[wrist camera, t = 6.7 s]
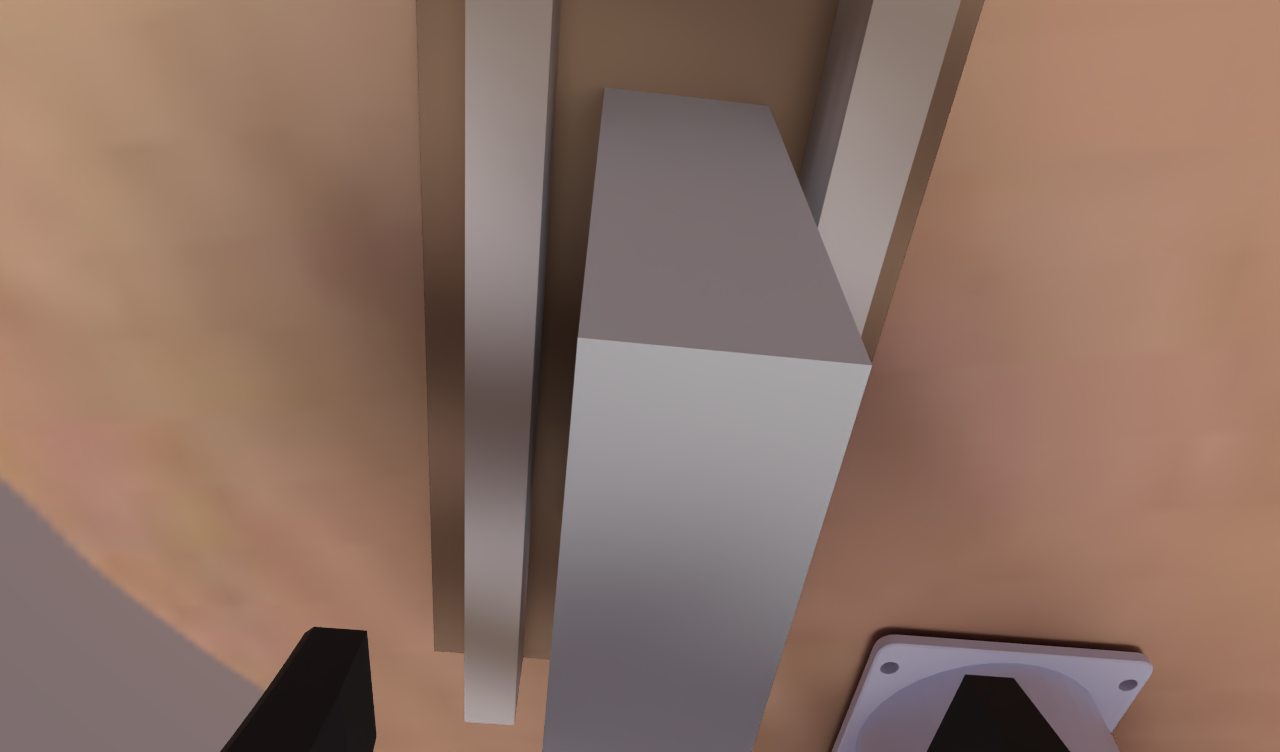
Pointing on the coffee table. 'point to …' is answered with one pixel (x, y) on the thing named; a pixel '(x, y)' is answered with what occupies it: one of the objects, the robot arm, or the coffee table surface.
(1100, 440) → the coffee table surface
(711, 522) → the door panel
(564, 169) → the track base
